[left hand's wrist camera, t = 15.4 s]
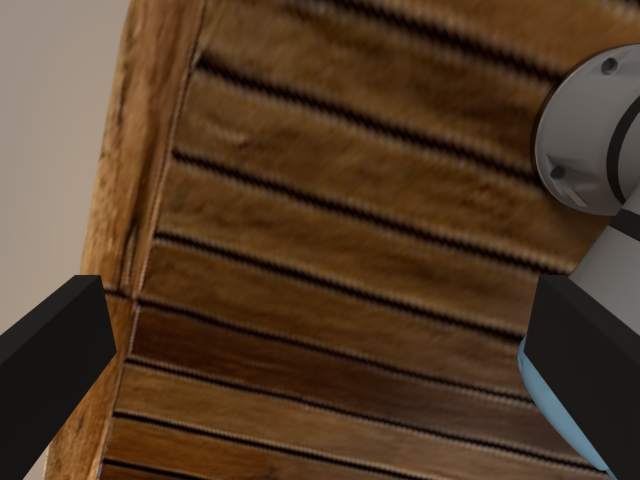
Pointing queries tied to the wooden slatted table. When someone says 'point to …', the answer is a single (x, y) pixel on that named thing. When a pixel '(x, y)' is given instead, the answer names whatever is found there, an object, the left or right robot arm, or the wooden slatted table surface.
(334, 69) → the wooden slatted table surface
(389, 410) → the wooden slatted table surface
